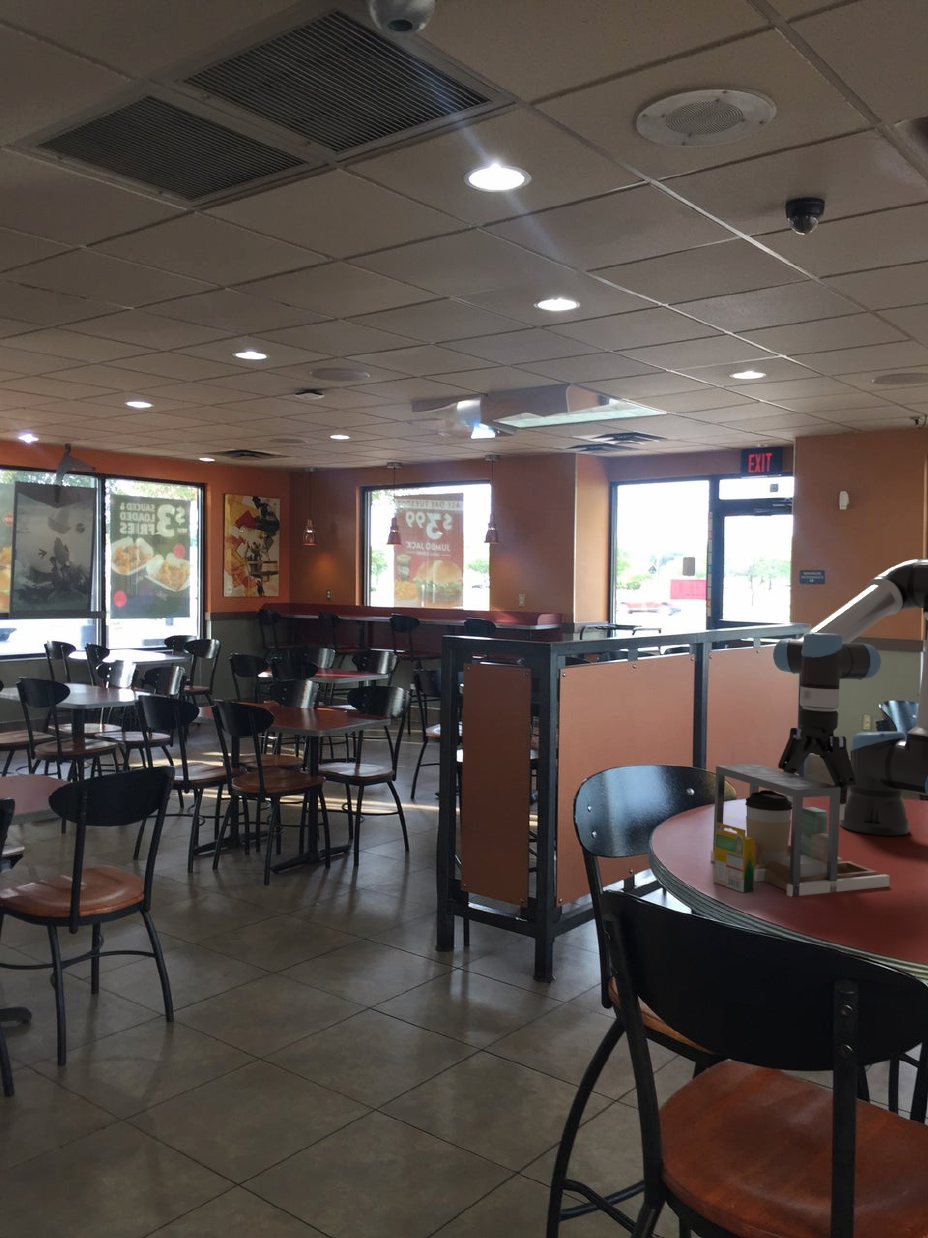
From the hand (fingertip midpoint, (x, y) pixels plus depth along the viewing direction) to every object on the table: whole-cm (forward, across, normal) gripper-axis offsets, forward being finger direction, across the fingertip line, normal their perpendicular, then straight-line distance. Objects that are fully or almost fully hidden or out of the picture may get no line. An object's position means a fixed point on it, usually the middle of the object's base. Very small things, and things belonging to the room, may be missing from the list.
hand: (813, 812), depth 201 cm
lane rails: (+11, +5, -8) cm, 14 cm away
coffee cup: (+11, 0, -11) cm, 16 cm away
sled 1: (+11, 0, -8) cm, 13 cm away
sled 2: (+11, +12, -8) cm, 17 cm away
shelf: (+11, +5, -14) cm, 18 cm away
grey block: (+11, +12, -12) cm, 20 cm away
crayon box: (+11, +9, -26) cm, 29 cm away
